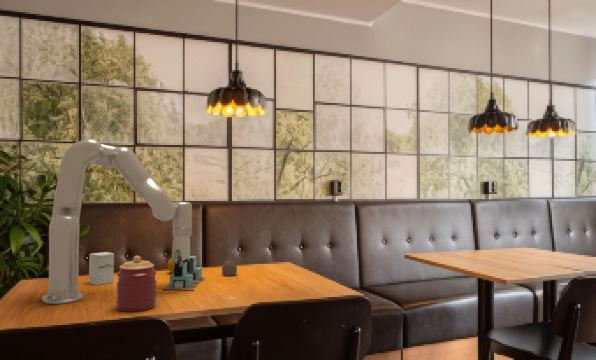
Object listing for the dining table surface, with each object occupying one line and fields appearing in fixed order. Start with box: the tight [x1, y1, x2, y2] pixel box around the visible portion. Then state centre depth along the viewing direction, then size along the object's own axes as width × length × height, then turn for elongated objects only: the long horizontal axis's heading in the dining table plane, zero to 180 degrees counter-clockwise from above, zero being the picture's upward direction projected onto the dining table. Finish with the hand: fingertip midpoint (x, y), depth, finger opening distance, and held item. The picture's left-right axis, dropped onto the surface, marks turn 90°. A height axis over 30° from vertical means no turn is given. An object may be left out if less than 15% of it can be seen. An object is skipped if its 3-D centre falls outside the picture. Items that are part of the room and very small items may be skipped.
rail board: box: [162, 273, 207, 293], centre depth 185 cm, size 22×12×4 cm, turn 177°
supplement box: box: [88, 251, 115, 286], centre depth 188 cm, size 7×7×13 cm
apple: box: [166, 257, 180, 275], centre depth 205 cm, size 9×9×9 cm
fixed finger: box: [187, 255, 203, 280], centre depth 193 cm, size 8×6×10 cm
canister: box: [115, 255, 158, 312], centre depth 152 cm, size 13×13×18 cm
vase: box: [221, 257, 238, 277], centre depth 202 cm, size 7×7×9 cm
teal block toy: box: [168, 261, 193, 288], centre depth 179 cm, size 8×6×10 cm
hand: (181, 274), depth 179 cm, fingers open, 9 cm apart
